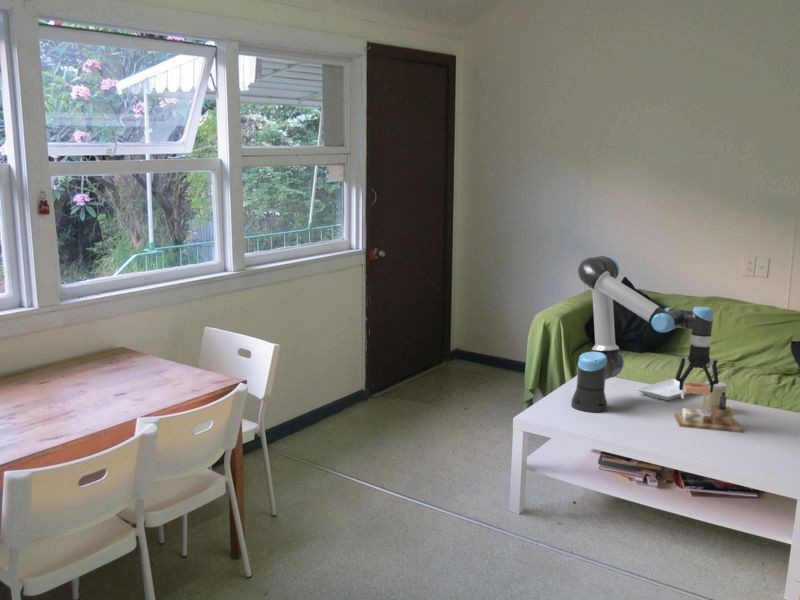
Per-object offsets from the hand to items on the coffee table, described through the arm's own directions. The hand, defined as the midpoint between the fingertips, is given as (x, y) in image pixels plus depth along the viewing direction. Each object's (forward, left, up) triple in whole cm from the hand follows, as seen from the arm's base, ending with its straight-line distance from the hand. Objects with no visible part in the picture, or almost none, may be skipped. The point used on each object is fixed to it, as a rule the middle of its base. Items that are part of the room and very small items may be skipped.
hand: (694, 398), depth 300 cm
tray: (-2, +42, -11) cm, 44 cm away
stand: (+6, 0, -10) cm, 12 cm away
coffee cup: (+12, +21, -10) cm, 26 cm away
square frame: (0, 0, +3) cm, 3 cm away
